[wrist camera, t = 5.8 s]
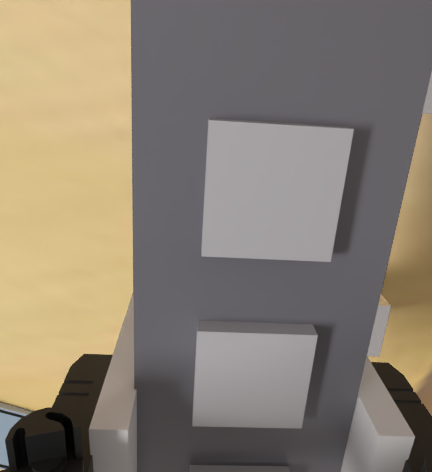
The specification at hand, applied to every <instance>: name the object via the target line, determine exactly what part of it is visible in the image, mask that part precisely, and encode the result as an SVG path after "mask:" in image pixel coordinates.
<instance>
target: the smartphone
mask: <svg viewBox="0 0 432 472" xmlns="http://www.w3.org/2000/svg"><path fill="white" fill-rule="evenodd" d="M30 413H32V411H29V410H26V409H22V408H19V407H15V406H12V405H8V404H5V403H2V402H0V469H3V470H5V469H6V468H8V467H9V462H8V456H7V450H6V444H5V439H6V437H7V435H8V433H9V431H10V429H11V428H12V427H13V426H14V425H15V424H16V423H17V422H18V421H19V420H20V419H21V418H23V417H25V416H26V415H28V414H30Z"/></svg>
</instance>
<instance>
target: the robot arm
mask: <svg viewBox="0 0 432 472" xmlns="http://www.w3.org/2000/svg"><path fill="white" fill-rule="evenodd" d="M5 444H6V450H7V456H8V462H9V467H8V468H6V469H5V470H2V471H0V472H137V389H134V299H133V295H132V298H131V301H130V304H129V307H128V310H127V313H126V316H125V319H124V322H123V325H122V328H121V331H120V335H119V338H118V341H117V344H116V347H115V350H114V353H113V355H99V354H84V355H83V356H81V357H80V358H79V359H78V360H77V361H76V362H75V363H74V364H73V365H72V366H71V367H70V369H69V372H68V374H67V376H66V378H65V380H64V383H63V385H62V387H61V389H60V391H59V395H57V398H56V400H55V402H54V404H53V406H52V408H44V409H41V410H37V411H34V412H32V413H30V414H28V415H26V416H25V417H23V418H21V419H20V420H19V421H18V422H17V423H16V424H15V425H14V426H13V427H12V428H11V429H10V431H9V433H8V435H7V437H6V439H5ZM340 472H432V416H431V415H430V413H429V412H428V410H427V409H426V407H425V406H424V404H421V400H420V399H419V397H418V396H417V394H416V393H415V392H413V388H412V387H411V385H410V384H409V382H408V381H407V380H406V378H405V377H404V375H403V374H401V373H400V372H399V371H398V370H397V369H395V368H394V367H393V366H392V365H390V364H389V363H379V362H370V360H369V359H368V357H366V361H365V366H364V370H363V375H362V379H361V383H360V388H359V392H358V396H357V401H356V405H355V409H354V414H353V418H352V423H351V427H350V431H349V436H348V440H347V444H346V449H345V453H344V458H343V462H342V466H341V471H340Z"/></svg>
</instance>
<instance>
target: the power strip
mask: <svg viewBox="0 0 432 472" xmlns="http://www.w3.org/2000/svg"><path fill="white" fill-rule="evenodd" d="M131 72H132V186H133V299H134V389H137V472H340V471H341V466H342V462H343V458H344V453H345V449H346V444H347V440H348V436H349V431H350V427H351V423H352V418H353V414H354V409H355V405H356V401H357V396H358V392H359V388H360V383H361V379H362V375H363V370H364V366H365V361H366V357H367V353H368V348H369V344H370V340H371V335H372V331H373V326H374V322H375V318H376V313H377V309H378V305H379V300H380V296H381V291H382V287H383V283H384V278H385V274H386V270H387V265H388V261H389V256H390V252H391V248H392V243H393V239H394V235H395V230H396V226H397V221H398V217H399V213H400V208H401V204H402V200H403V195H404V191H405V186H406V182H407V178H408V173H409V169H410V165H411V160H412V156H413V151H414V147H415V143H416V138H417V134H418V130H419V125H420V121H421V116H422V112H423V108H424V103H425V99H426V95H427V90H428V86H429V82H430V77H431V73H432V0H131Z"/></svg>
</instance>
